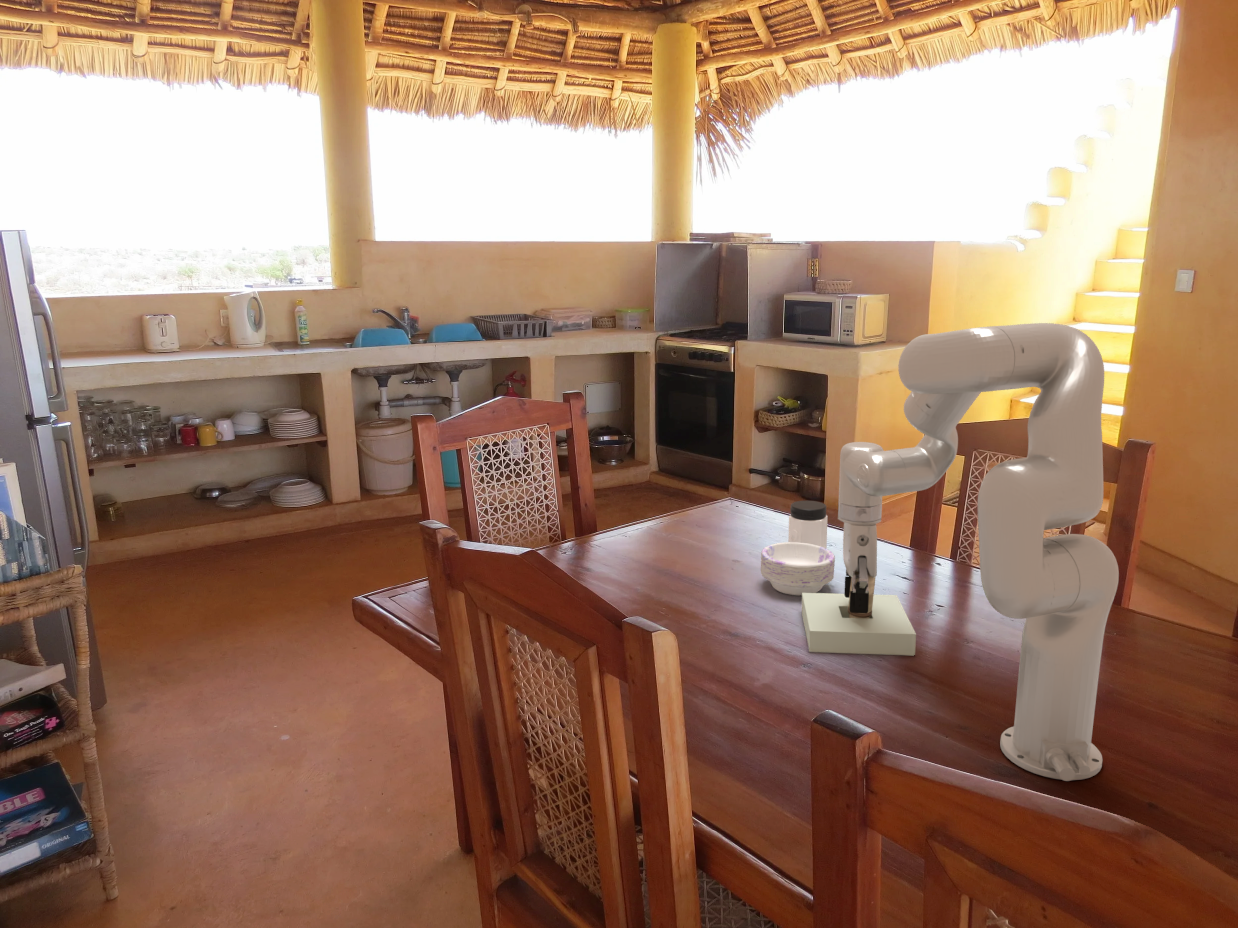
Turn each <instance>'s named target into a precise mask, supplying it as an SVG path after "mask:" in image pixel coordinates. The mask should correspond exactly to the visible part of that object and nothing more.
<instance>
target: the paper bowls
mask: <svg viewBox="0 0 1238 928" xmlns="http://www.w3.org/2000/svg"><path fill="white" fill-rule="evenodd" d="M835 559H836V557H835V555H834V553H833V552H832V551H831V550H829V549H825V548H823V547H820V546H817V545H813V544H807V543H798V542H787V541H786V542H784V541H783V542H778V543H772V544H769V545H767V546H765V547H764V548H763V549H762V551H761V552H760V574H761V575H762V577H763V578H764V579H766V580H767V581H769V583H770V584H771V586H772V587H773V589H775V590H776V591H778V592H780V593H781V594H782V593H783V594H786V595H790V596H797V597H798V596H801V597H802V593H819V592H820V591H821V590H822V589H823V587H824V586H825V585H828V584H829V583H830V582H832V581H833V580H834V576H835V561H836V560H835Z"/></svg>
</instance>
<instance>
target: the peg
mask: <svg viewBox="0 0 1238 928" xmlns="http://www.w3.org/2000/svg"><path fill="white" fill-rule="evenodd" d="M855 575H859V572H855ZM876 577H877V576H876ZM876 577H875V578H873V577H872V576H870V574H869V572H868V587H869V603H868V613H851V612H850V610H849V609H850V595H849V605H848V613H849V618H868V619H869V617H870V616H871V615H872V605H873V596H874V595H875V585H876ZM857 582H859V579H856V583H857ZM850 591H852V577H851V586H850Z"/></svg>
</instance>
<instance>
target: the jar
mask: <svg viewBox="0 0 1238 928" xmlns="http://www.w3.org/2000/svg"><path fill="white" fill-rule="evenodd" d="M789 513H790V515H789V516H788V538H787V539H788V542H798V543H807V544H813V545H817V546H820V547H823V548H825V549H827V546H828V545H827V544H828V541H827V540H828V515H827V505H826V503H824V502H821V501H818V500H817V501H816V500H797V501H794V502H792V503H791V504H790V512H789Z"/></svg>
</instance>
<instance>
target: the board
mask: <svg viewBox="0 0 1238 928" xmlns="http://www.w3.org/2000/svg"><path fill="white" fill-rule="evenodd" d="M848 605H849V598H846V597H845V595H844V593H827V592H826V593H823V592H816V593H802V596H801V615H802V616H801V617H802V620H803V627H804V631H805V636H806V641H807V645H808V651H809V653H826V654H827V653H830V654H834V653H835V654H858V655H861V654H862V655H887V656H888V655H889V656H891V655H892V656H893V655H894V656H913V657H914V655H915V656H916V644H917V643H916V642H917V633H916V631H915V629H914V627H913V625H912V623H911V621H910V620H909V617H908V615H907V613H906V611H905V609H904V607H903V605H902V603H901V601H900V599H899V597H898V595H897V594H874V596H873V605H872V615H871V616H870V617H869V619H868V618H849V613H848Z"/></svg>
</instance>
